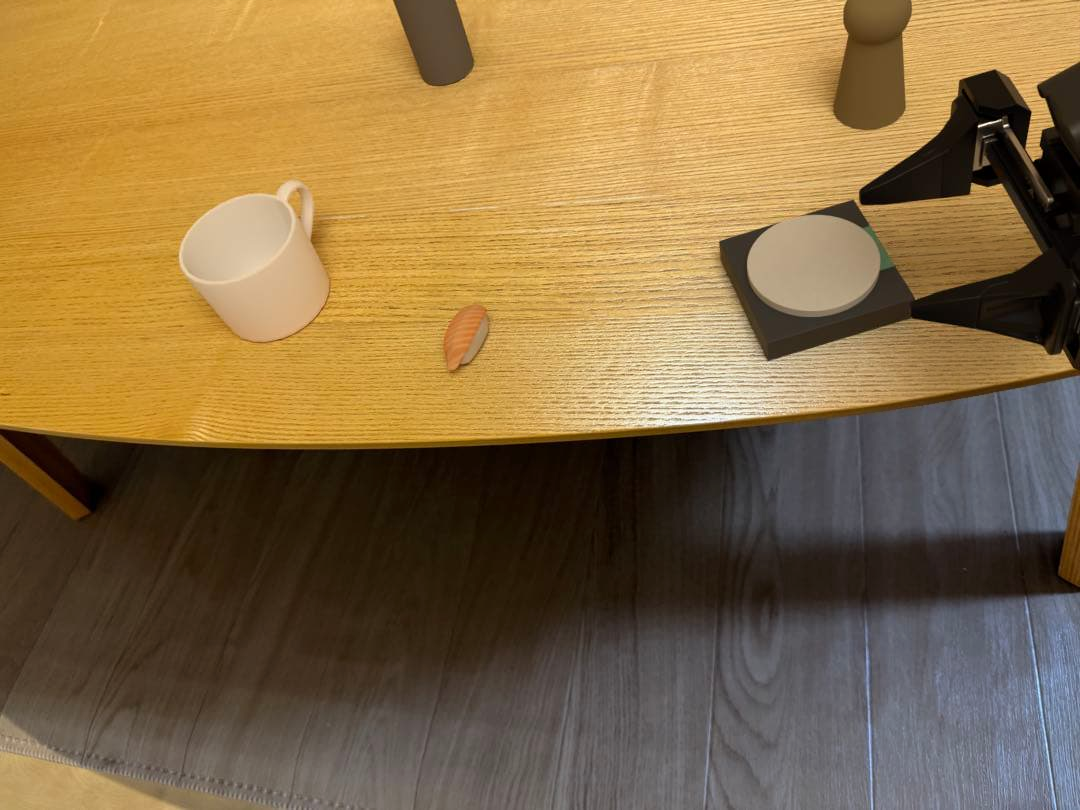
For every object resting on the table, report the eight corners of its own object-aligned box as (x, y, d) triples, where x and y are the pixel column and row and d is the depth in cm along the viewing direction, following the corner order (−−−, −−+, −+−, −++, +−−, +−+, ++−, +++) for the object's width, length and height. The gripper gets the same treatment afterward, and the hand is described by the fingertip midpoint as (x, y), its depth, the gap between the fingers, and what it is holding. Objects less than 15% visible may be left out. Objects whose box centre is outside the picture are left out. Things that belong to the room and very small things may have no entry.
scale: (852, 218, 76) (854, 191, 73) (912, 317, 69) (916, 290, 67) (720, 259, 76) (718, 233, 74) (767, 361, 70) (767, 336, 67)
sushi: (498, 318, 78) (489, 295, 75) (469, 380, 75) (458, 358, 72) (470, 314, 79) (460, 290, 76) (440, 375, 76) (428, 352, 73)
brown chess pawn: (910, 85, 83) (924, -31, 74) (900, 131, 80) (914, 16, 71) (839, 82, 85) (845, -31, 76) (827, 127, 82) (832, 15, 73)
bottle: (412, 84, 99) (360, -51, 87) (435, 49, 102) (388, -87, 90) (460, 88, 97) (414, -50, 85) (483, 52, 99) (441, -87, 87)
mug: (283, 361, 80) (239, 300, 74) (201, 325, 85) (152, 264, 78) (376, 252, 85) (342, 186, 79) (293, 223, 90) (255, 158, 84)
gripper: (1123, -49, 51) (833, 40, 54) (1327, 180, 40) (949, 277, 43) (1086, 113, 60) (838, 182, 62) (1244, 337, 49) (936, 410, 51)
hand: (883, 251), depth 55 cm, fingers open, 9 cm apart
